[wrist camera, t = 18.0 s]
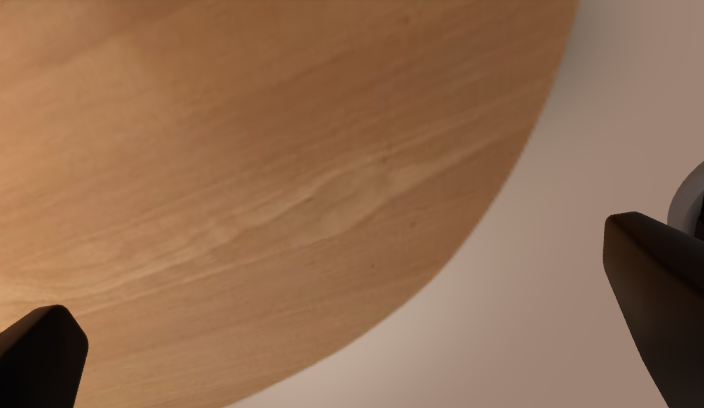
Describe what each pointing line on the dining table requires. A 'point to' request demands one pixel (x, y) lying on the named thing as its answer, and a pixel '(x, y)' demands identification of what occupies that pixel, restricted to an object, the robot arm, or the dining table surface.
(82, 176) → the dining table surface
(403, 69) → the dining table surface
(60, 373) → the robot arm
